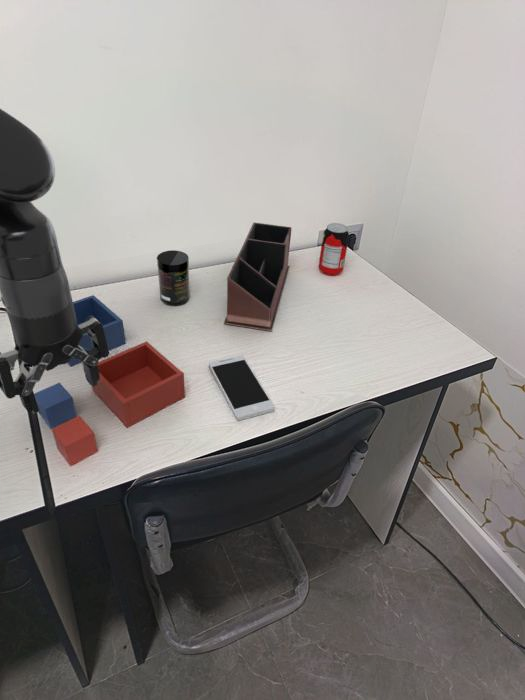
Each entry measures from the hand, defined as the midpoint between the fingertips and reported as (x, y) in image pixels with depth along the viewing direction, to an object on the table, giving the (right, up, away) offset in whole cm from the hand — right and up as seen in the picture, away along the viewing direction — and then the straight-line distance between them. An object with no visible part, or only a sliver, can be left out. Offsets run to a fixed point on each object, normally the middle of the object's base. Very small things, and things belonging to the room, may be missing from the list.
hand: (64, 395), depth 70 cm
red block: (-1, -9, +7) cm, 12 cm away
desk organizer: (+27, +20, +47) cm, 58 cm away
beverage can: (+46, +27, +58) cm, 78 cm away
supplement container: (+8, +18, +43) cm, 47 cm away
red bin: (+6, -1, +18) cm, 19 cm away
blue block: (-6, -4, +13) cm, 15 cm away
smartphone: (+24, -1, +21) cm, 32 cm away
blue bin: (-7, +8, +29) cm, 31 cm away
